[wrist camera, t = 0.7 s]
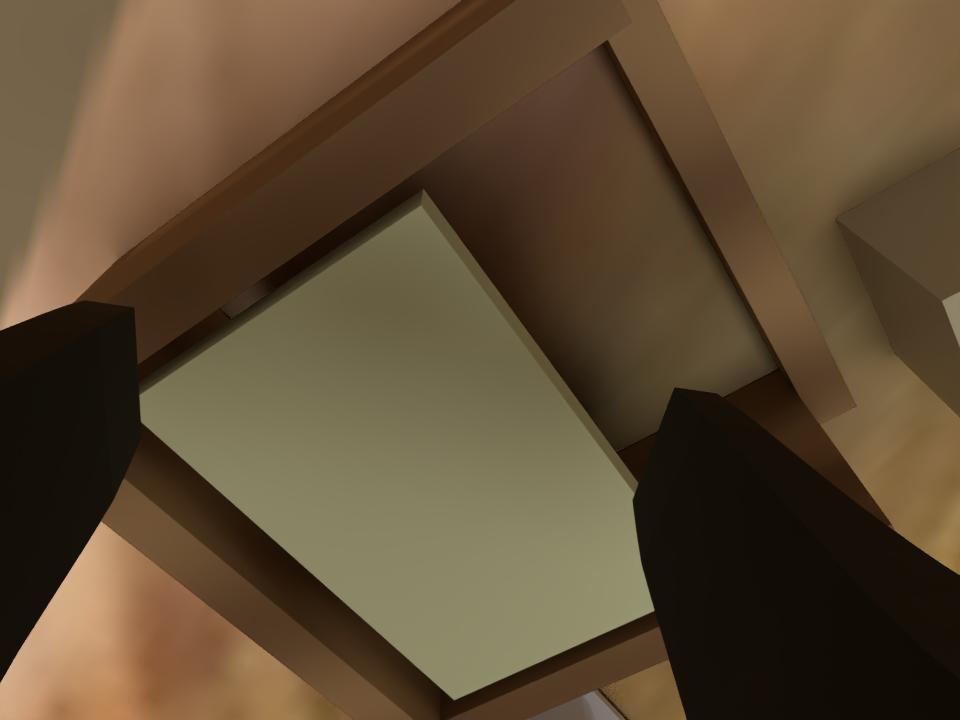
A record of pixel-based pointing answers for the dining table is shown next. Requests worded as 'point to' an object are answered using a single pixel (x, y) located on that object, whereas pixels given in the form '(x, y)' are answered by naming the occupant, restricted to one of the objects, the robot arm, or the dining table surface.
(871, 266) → the beige cube
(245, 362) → the flap
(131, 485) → the frame
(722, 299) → the dining table surface
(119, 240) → the dining table surface
